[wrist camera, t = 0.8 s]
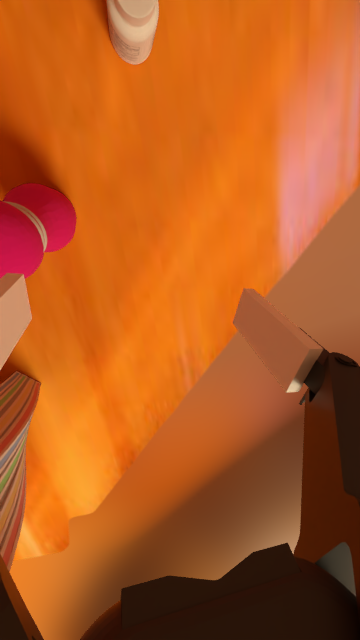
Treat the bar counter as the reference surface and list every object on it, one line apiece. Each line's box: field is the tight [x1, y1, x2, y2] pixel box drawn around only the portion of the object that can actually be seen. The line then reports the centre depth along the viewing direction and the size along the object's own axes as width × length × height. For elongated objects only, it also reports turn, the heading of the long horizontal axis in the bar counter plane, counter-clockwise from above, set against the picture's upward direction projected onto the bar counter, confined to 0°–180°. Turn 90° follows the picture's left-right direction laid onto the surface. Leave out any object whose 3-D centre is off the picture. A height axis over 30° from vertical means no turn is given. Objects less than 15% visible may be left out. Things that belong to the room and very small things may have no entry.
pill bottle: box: [107, 0, 159, 65], centre depth 21 cm, size 4×4×8 cm
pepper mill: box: [0, 183, 76, 279], centre depth 22 cm, size 7×7×20 cm
